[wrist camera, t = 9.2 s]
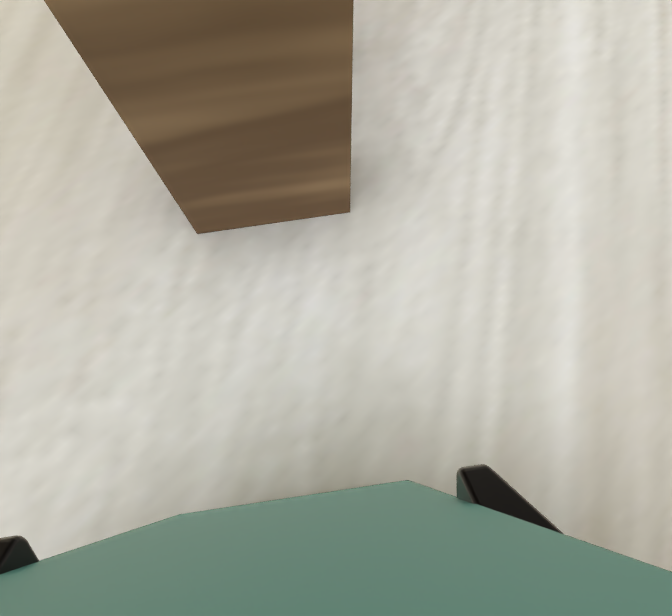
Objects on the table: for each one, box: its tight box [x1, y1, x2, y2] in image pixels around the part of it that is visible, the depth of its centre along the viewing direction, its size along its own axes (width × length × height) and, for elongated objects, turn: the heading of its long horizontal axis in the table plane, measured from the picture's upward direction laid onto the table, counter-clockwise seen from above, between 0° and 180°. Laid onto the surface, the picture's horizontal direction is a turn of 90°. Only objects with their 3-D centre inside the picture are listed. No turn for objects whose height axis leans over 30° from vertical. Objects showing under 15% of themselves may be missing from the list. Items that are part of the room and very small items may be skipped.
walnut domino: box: [44, 0, 353, 234], centre depth 16 cm, size 2×6×14 cm, turn 98°
